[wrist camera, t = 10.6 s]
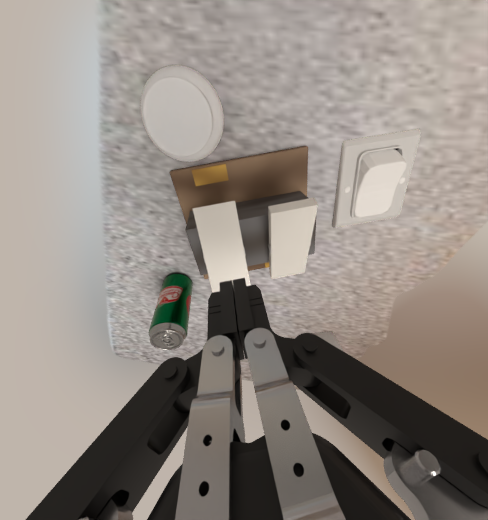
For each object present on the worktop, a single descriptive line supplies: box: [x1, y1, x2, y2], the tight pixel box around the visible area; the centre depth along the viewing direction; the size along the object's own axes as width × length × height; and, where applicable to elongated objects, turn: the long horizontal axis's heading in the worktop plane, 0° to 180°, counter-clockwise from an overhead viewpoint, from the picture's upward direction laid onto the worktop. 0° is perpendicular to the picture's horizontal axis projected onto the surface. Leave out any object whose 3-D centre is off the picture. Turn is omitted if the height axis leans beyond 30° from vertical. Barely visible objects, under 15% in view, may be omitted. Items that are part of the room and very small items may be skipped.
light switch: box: [333, 129, 421, 228], centre depth 32 cm, size 11×4×13 cm
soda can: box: [149, 274, 192, 350], centre depth 34 cm, size 5×5×12 cm
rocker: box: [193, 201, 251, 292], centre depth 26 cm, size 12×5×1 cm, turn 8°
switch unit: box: [170, 146, 316, 279], centre depth 31 cm, size 18×18×7 cm
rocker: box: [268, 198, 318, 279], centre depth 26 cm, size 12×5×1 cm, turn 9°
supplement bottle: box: [140, 65, 224, 162], centre depth 20 cm, size 7×7×13 cm
